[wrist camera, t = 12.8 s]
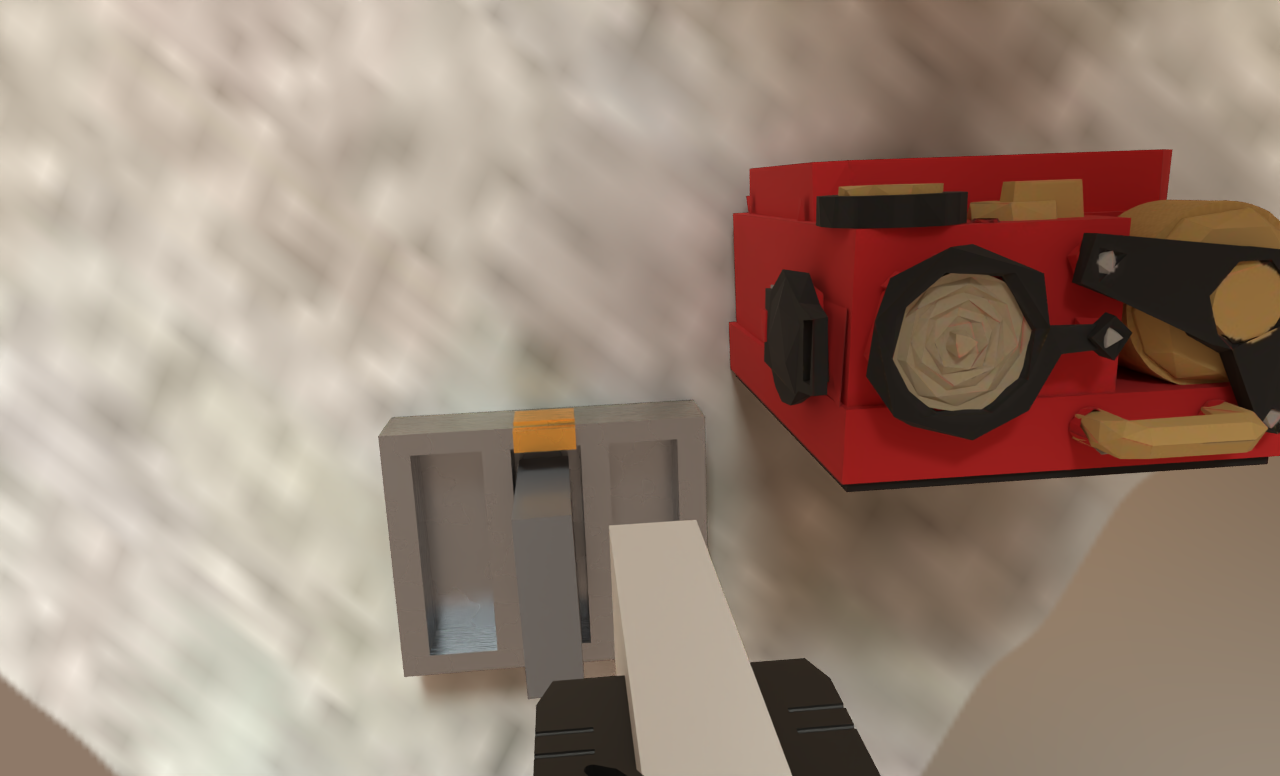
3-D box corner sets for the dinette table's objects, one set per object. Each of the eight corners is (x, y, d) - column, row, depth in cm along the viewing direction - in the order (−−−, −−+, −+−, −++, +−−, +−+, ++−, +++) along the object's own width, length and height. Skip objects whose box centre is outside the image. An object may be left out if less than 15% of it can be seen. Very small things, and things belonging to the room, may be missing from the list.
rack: (391, 413, 42) (375, 435, 38) (693, 396, 44) (706, 415, 40) (415, 642, 45) (402, 683, 41) (698, 619, 46) (711, 657, 42)
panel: (519, 459, 43) (511, 520, 35) (568, 455, 43) (571, 515, 35) (532, 609, 44) (528, 699, 37) (579, 605, 45) (585, 693, 37)
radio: (1023, 159, 43) (1417, 134, 23) (1010, 363, 45) (1359, 497, 25) (703, 171, 41) (836, 155, 22) (707, 380, 43) (830, 535, 24)
